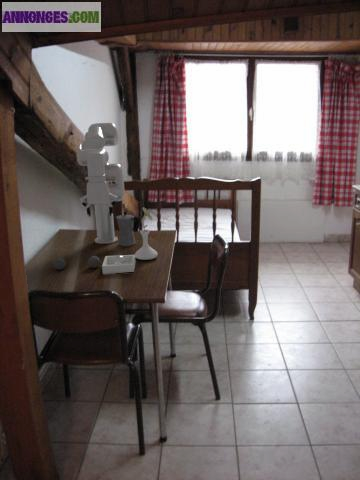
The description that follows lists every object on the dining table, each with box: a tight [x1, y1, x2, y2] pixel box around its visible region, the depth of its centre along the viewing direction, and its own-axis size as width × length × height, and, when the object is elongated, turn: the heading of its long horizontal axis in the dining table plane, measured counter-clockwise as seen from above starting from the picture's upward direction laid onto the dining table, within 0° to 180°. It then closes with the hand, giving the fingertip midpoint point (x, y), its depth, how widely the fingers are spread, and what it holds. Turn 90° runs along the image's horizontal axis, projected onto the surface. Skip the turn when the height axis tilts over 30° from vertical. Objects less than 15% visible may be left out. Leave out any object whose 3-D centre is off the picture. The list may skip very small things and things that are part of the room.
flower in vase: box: [134, 206, 159, 261], centre depth 231 cm, size 13×11×25 cm
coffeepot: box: [114, 211, 141, 247], centre depth 254 cm, size 15×9×18 cm, turn 62°
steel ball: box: [113, 254, 125, 265], centre depth 219 cm, size 6×6×6 cm
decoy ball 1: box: [53, 257, 67, 270], centre depth 222 cm, size 6×6×6 cm
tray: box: [101, 254, 136, 275], centre depth 220 cm, size 14×14×4 cm
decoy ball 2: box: [87, 255, 101, 269], centre depth 222 cm, size 6×6×6 cm
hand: (100, 215), depth 221 cm, fingers open, 9 cm apart
